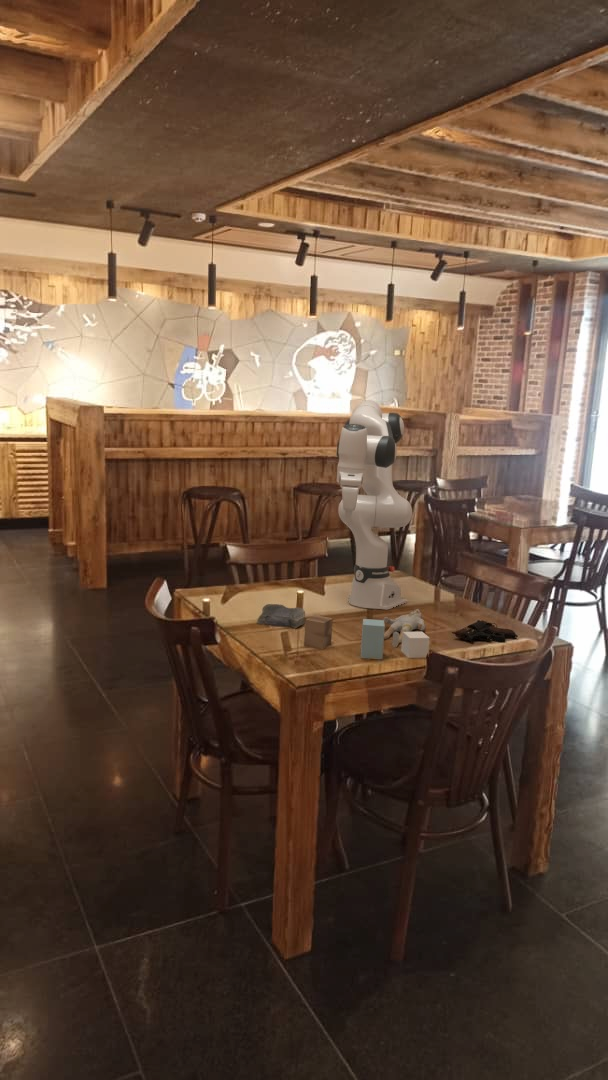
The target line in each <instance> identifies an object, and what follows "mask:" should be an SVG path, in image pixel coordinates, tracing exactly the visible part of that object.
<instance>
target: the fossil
mask: <svg viewBox="0 0 608 1080" xmlns="http://www.w3.org/2000/svg"><path fill="white" fill-rule="evenodd" d="M305 617H306V610H304V608H302V607H287V606H285V605H284V604H278V603H267V604H265V605H264V606H263V607H262V611H261V614H260V615H259V617H258V618H257V620H256V624H257V625H262V626H269V625H271V627H281V628H282V627H283V628H292V629H295V630H296V629H297V628H298V627H300V626H305Z"/></svg>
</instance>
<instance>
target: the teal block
mask: <svg viewBox="0 0 608 1080" xmlns="http://www.w3.org/2000/svg"><path fill="white" fill-rule="evenodd" d="M385 624H386V623H384V620H383V619H373V618H372V619H370V618H369V619H368V618H363V619H362V626H361V627H362V628H361V642H360V643H361V644H360V659H361V658H376V659H382V660H383V655H384V642H385V641H384V640H385V639H384V633H385V632H386V631H385V629H386V626H385Z"/></svg>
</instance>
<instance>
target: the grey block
mask: <svg viewBox="0 0 608 1080" xmlns="http://www.w3.org/2000/svg"><path fill="white" fill-rule="evenodd" d="M430 639H431V638H430V636H428V635H427V634H426V633H424V632H423V631H411V632H403V635H402V642H401V649H400V650H401V652H402V654H403V655H405V656H406V658H408V659H416V658H417V659H419V658H421V659H423V658H426V655H427V653H428V654H429V649H430Z"/></svg>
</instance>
